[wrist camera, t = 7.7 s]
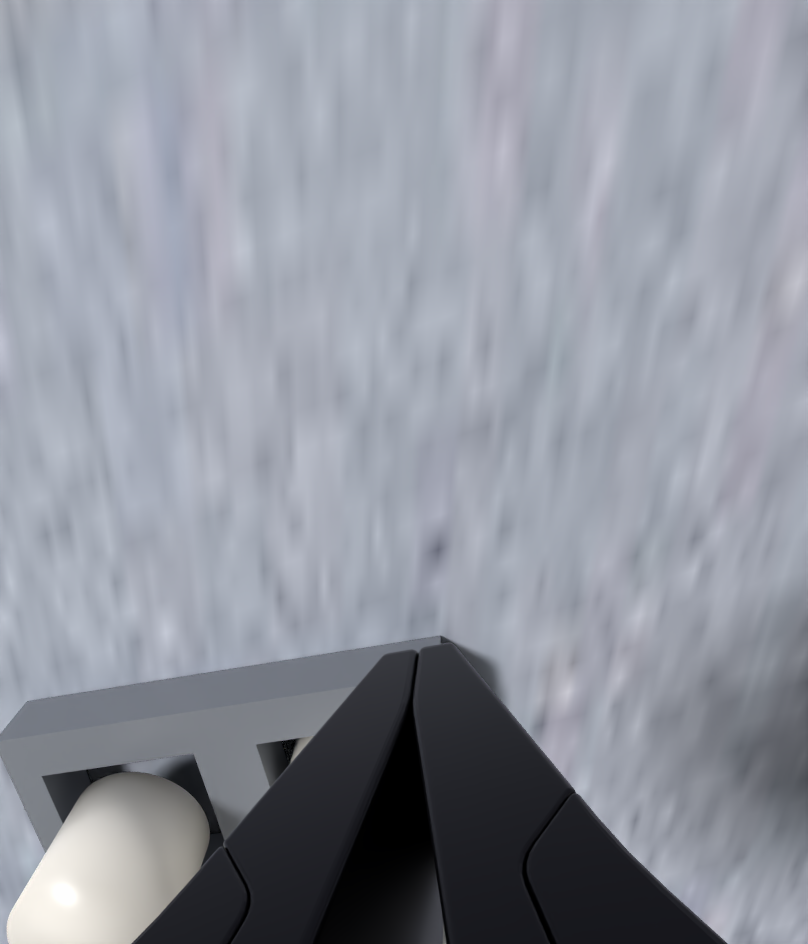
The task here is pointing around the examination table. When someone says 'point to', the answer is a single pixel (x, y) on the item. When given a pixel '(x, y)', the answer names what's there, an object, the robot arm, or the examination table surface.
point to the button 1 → (113, 863)
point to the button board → (181, 731)
